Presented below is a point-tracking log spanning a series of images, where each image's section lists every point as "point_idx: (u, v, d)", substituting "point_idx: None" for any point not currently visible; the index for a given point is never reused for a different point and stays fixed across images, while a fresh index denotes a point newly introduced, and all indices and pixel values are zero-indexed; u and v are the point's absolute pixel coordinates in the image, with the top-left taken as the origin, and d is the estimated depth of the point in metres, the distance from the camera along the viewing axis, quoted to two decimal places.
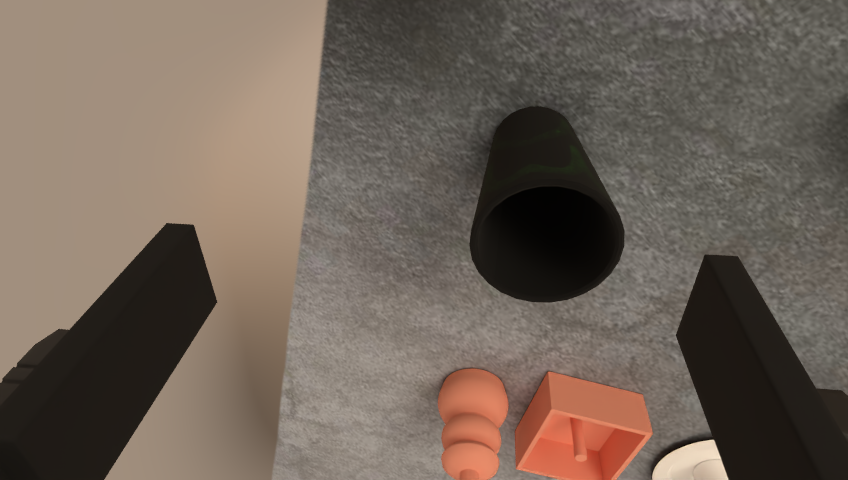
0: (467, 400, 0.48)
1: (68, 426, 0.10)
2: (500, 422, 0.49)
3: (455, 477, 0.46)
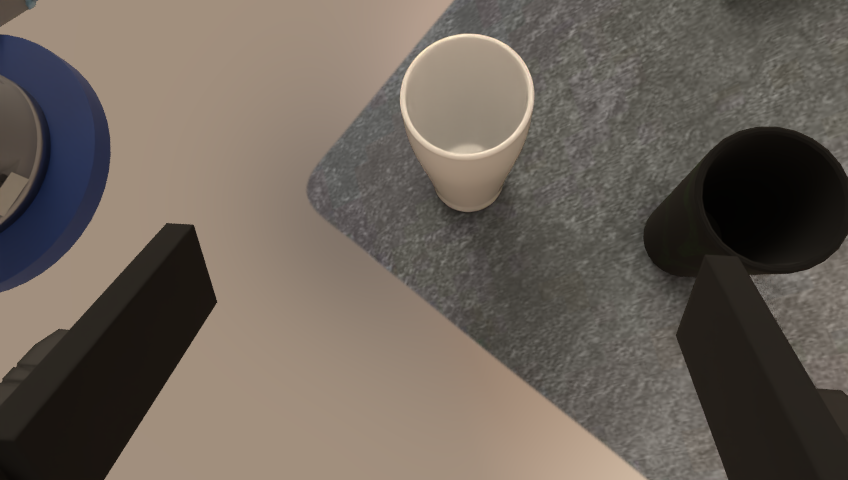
0: None
1: (68, 425, 0.10)
2: None
3: None
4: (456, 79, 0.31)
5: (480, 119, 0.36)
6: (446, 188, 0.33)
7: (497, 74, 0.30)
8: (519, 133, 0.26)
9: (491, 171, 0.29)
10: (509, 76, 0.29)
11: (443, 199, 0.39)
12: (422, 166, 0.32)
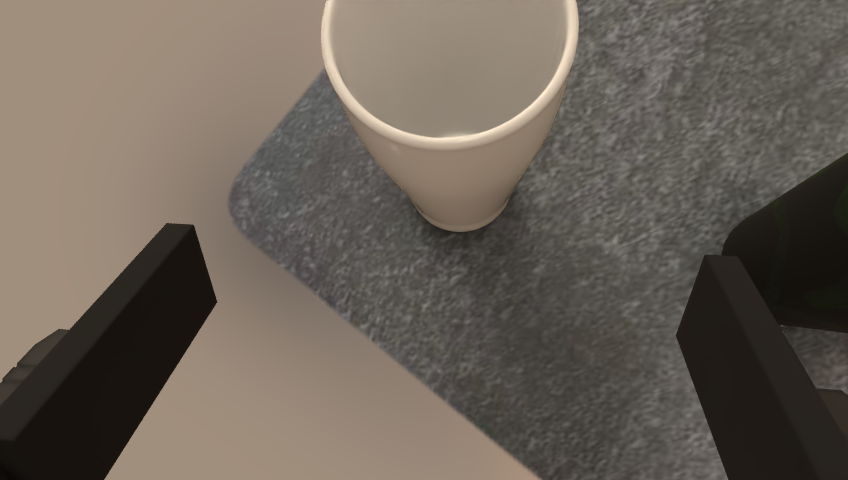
0: None
1: (68, 425, 0.10)
2: None
3: None
4: (433, 17, 0.19)
5: (476, 91, 0.23)
6: (422, 200, 0.20)
7: (504, 2, 0.17)
8: (552, 95, 0.13)
9: (497, 171, 0.16)
10: (525, 1, 0.16)
11: (423, 214, 0.26)
12: None
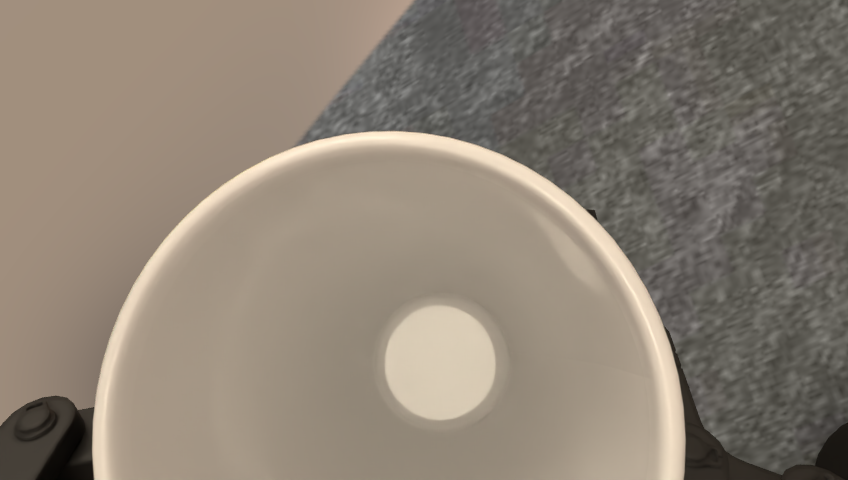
0: None
1: None
2: None
3: None
4: (384, 227, 0.11)
5: (462, 277, 0.15)
6: None
7: (506, 233, 0.09)
8: None
9: None
10: (548, 255, 0.08)
11: None
12: None
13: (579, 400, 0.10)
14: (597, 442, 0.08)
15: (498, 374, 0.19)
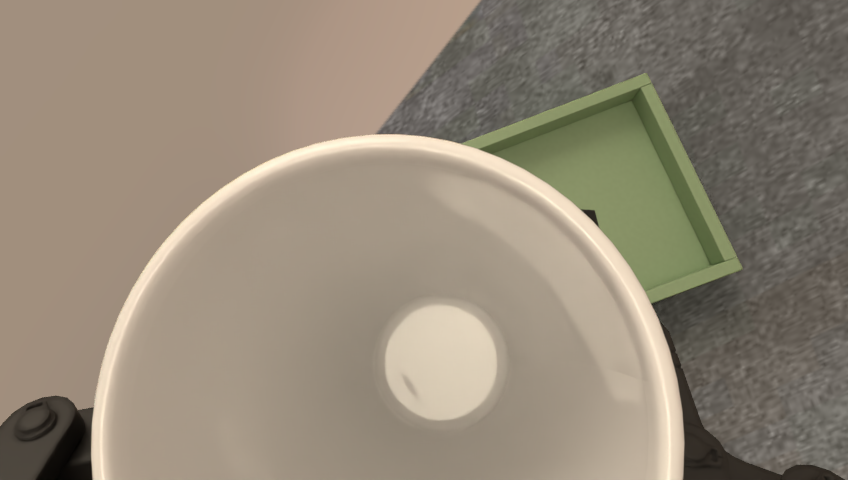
0: None
1: None
2: None
3: None
4: (383, 229, 0.11)
5: (462, 278, 0.15)
6: None
7: (506, 235, 0.09)
8: None
9: None
10: (547, 257, 0.08)
11: None
12: None
13: (578, 402, 0.10)
14: (597, 445, 0.08)
15: (497, 375, 0.19)
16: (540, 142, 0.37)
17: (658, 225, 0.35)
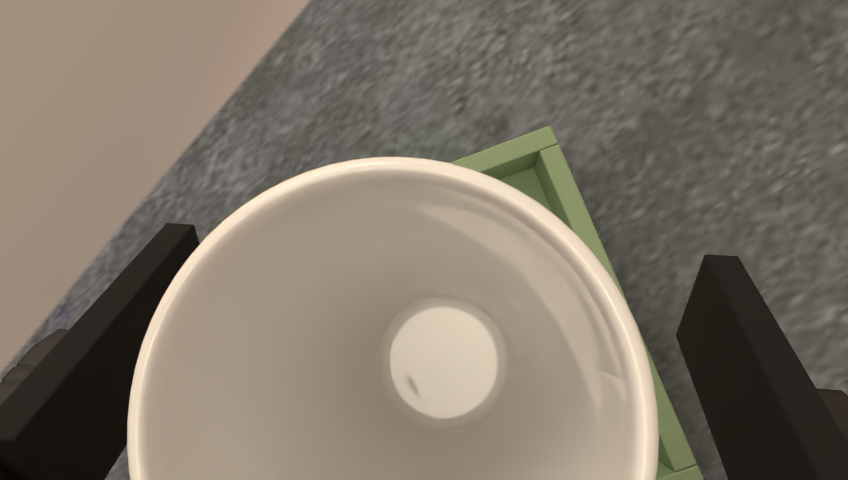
0: None
1: (68, 425, 0.10)
2: None
3: None
4: (388, 238, 0.11)
5: (463, 282, 0.16)
6: None
7: (502, 245, 0.10)
8: None
9: None
10: (541, 266, 0.09)
11: None
12: None
13: (571, 400, 0.11)
14: (587, 440, 0.09)
15: (498, 376, 0.19)
16: None
17: None
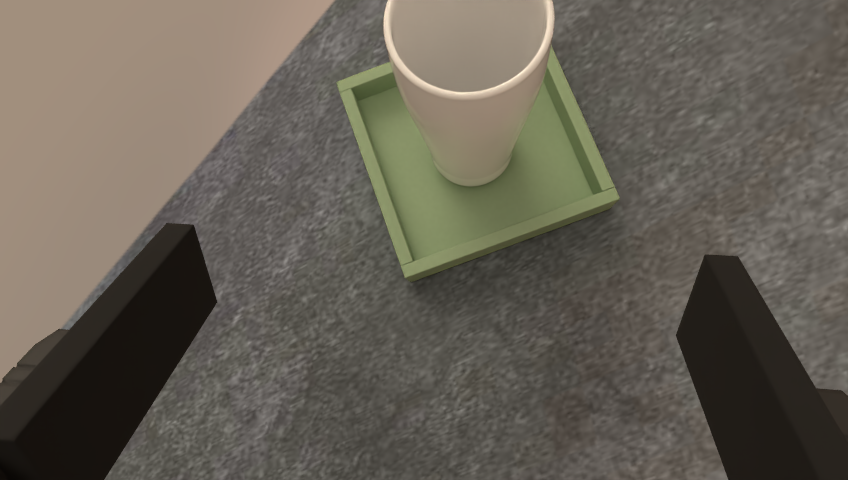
0: None
1: (68, 426, 0.10)
2: None
3: None
4: (455, 14, 0.26)
5: (484, 72, 0.30)
6: (445, 150, 0.27)
7: (505, 4, 0.24)
8: (536, 64, 0.20)
9: (500, 120, 0.23)
10: (520, 3, 0.23)
11: (442, 171, 0.34)
12: (415, 121, 0.26)
13: None
14: None
15: None
16: None
17: (545, 160, 0.35)
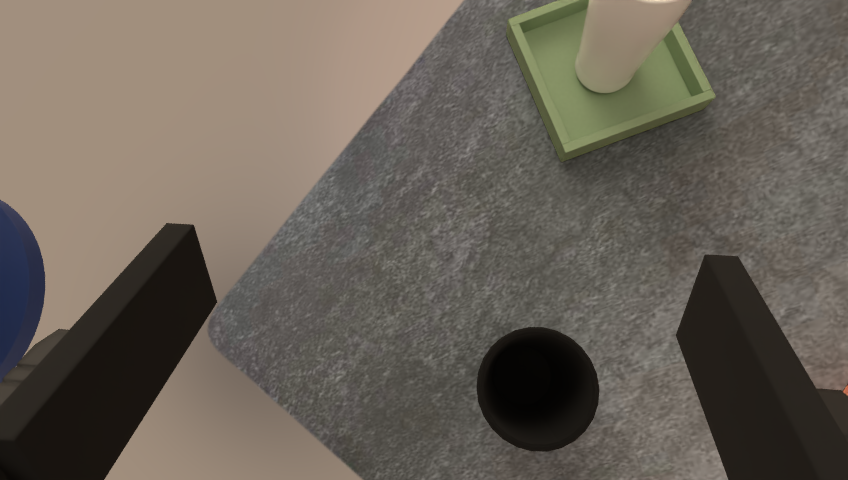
0: None
1: (68, 426, 0.10)
2: None
3: None
4: None
5: None
6: (613, 53, 0.41)
7: None
8: None
9: (667, 22, 0.37)
10: None
11: (588, 80, 0.48)
12: (600, 30, 0.40)
13: None
14: None
15: None
16: (572, 19, 0.51)
17: (657, 75, 0.49)
